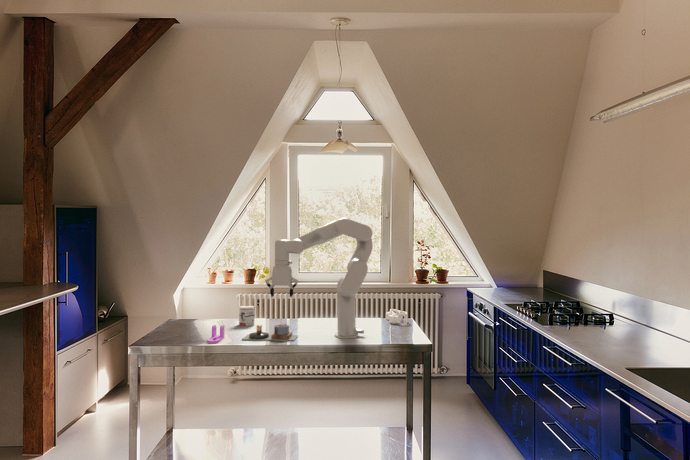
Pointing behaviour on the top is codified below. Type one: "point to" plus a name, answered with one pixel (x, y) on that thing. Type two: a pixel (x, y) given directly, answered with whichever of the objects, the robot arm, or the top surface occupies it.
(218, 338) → the bracket
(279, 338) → the stand
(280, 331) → the ring
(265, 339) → the mat
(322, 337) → the top surface
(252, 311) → the ink box
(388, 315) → the skeletal toy car
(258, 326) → the hub
